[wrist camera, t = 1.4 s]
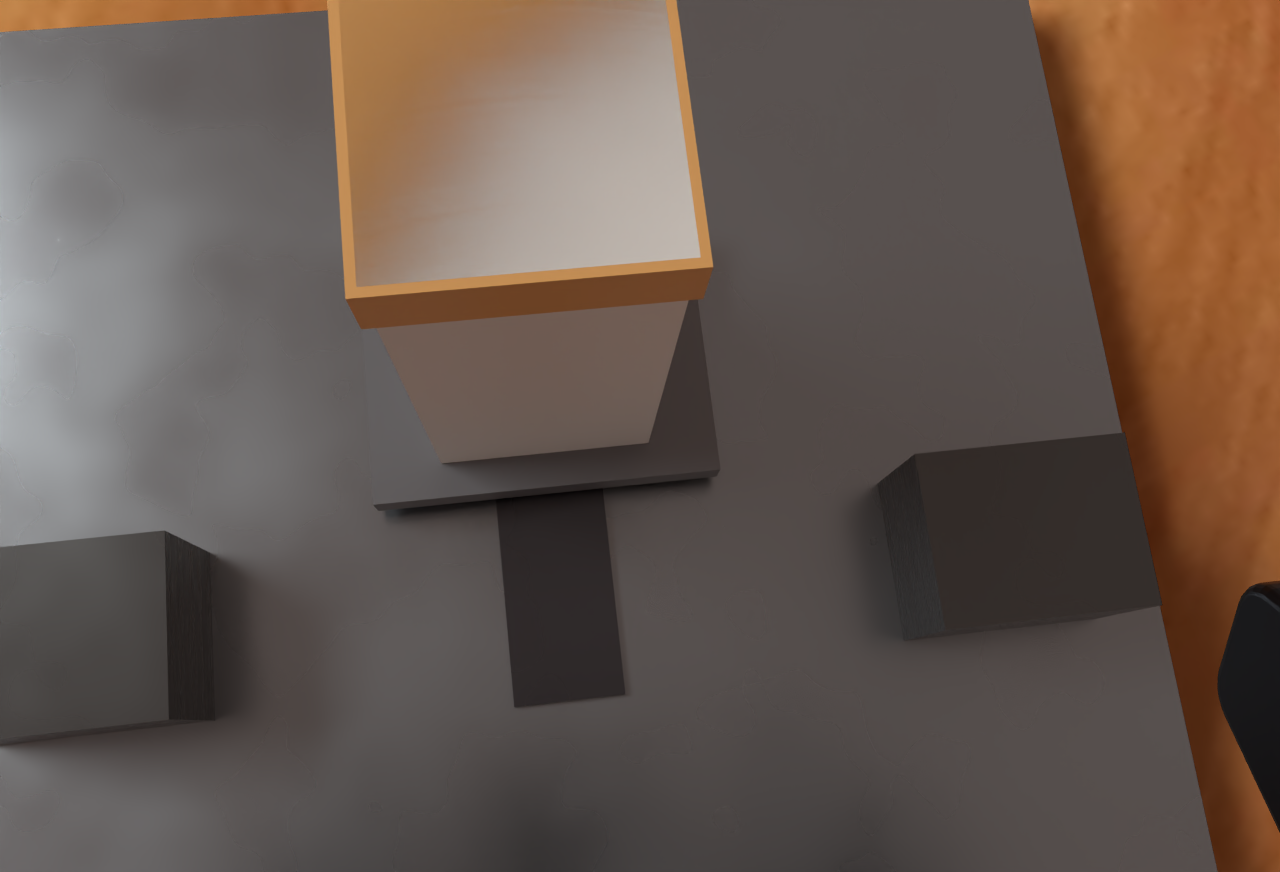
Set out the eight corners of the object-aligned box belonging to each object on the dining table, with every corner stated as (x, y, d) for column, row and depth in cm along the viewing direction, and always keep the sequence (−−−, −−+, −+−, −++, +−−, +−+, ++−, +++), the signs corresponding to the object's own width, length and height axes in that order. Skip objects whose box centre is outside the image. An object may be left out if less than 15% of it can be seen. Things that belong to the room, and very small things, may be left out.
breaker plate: (1151, 860, 19) (1301, 894, 15) (-15, 1016, 17) (-182, 1099, 14) (981, 30, 22) (1067, -116, 19) (-4, 100, 21) (-134, -43, 17)
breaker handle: (716, 476, 18) (820, 299, 10) (378, 510, 17) (239, 353, 10) (683, 228, 19) (757, -92, 11) (361, 255, 18) (224, -59, 11)
